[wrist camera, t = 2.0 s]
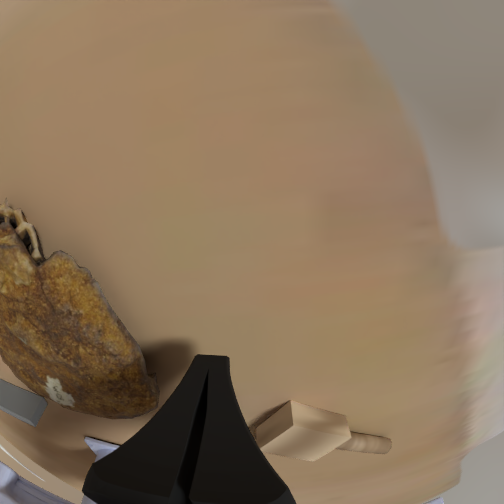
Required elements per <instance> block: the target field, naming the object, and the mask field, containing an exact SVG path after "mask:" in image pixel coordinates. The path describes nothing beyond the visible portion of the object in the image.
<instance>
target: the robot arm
mask: <svg viewBox="0 0 504 504" xmlns="http://www.w3.org/2000/svg"><path fill="white" fill-rule="evenodd" d="M84 440H85V442H86V443H87V444H88V446H89V447H90V448H91V449H92V451H93V452H94V453H95V454H96V455H97V456H96V459H95V462H94V463H93V464H92V466H91V468H90V470H89V471H88V474H87V476H86V479H85V482H84V485H83V488H82V492H83V493H84V496H83V500H82V503H81V504H296V502H295V500H294V498H293V496H292V494H291V492H290V490H289V488H288V486H287V485H286V484H285V483H284V481H283V480H282V479H281V478H280V477H279V475H278V474H277V473H276V472H275V470H274V469H273V468H272V466H271V465H270V463H269V462H268V461H267V459H266V458H265V456H264V454H263V453H262V451H261V450H260V448H259V446H258V445H257V443H256V441H255V440H254V438H253V436H252V434H251V432H250V430H249V428H248V426H247V424H246V422H245V420H244V417H243V415H242V413H241V410H240V407H239V405H238V402H237V399H236V396H235V392H234V389H233V385H232V381H231V376H230V361H229V357H227V356H217V355H200V354H197V355H196V356H195V357H194V359H193V361H192V363H191V365H190V367H189V369H188V371H187V372H186V374H185V376H184V377H183V379H182V380H181V382H180V383H179V385H178V386H177V388H176V389H175V391H174V392H173V393H172V395H171V396H170V397H169V399H168V400H167V401H166V403H165V404H164V405H163V406H162V408H161V409H160V410H159V411H158V412H157V413H156V414H155V416H154V417H153V418H152V419H151V420H150V421H149V422H148V423H147V424H146V425H145V426H144V427H143V428H142V429H140V430H139V431H138V432H137V433H136V434H135V435H134V436H133V437H131V438H130V439H129V440H128V441H126V442H125V443H124V444H122V445H121V446H118V445H114V444H110V443H106V442H103V441H99V440H96V439H92V438H89V437H85V439H84ZM0 504H74V503H71V502H69V501H67V500H65V499H63V498H60V497H58V496H56V495H54V494H52V493H50V492H48V491H46V490H44V489H42V488H40V487H38V486H37V485H35V484H33V483H31V482H29V481H28V480H26V479H24V478H23V477H21V476H19V475H18V474H17V473H16V472H15V471H13V470H12V469H11V468H10V467H8V466H7V465H6V464H4V463H3V462H1V461H0ZM425 504H444V501H443V498H442V497H439V498H436V499H434V500H432V501H429V502H427V503H425Z"/></svg>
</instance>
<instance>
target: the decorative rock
mask: <svg viewBox="0 0 504 504" xmlns="http://www.w3.org/2000/svg"><path fill="white" fill-rule="evenodd" d="M12 225H16V226H17V228H16V229H14V228H13V227H12ZM30 243H31V248H32V252H31V255H30V254H29V252H28V250H27V246H28V245H29V244H30ZM0 355H1V357H2V360H3V362H4V363H5V364H7V365H8V366H9V368H10V369H11V370H12V372H13V373H14V375H15V376H16V377H17V378H18V379H20V380H21V381H22V382H23V383H24V384H25V385H26V386H28V387H29V388H30V389H31V390H32V391H34V392H36V393H37V394H39V395H40V396H43V397H46V398H49V399H51V400H53V401H55V402H57V403H58V404H60V405H61V406H62V407H64V408H67V409H70V410H73V411H77V412H82V413H87V414H92V415H95V416H98V417H105V418H110V419H128V418H134V417H137V416H140V415H143V414H146V413H148V412H150V411H151V410H153V409H155V408H157V407H158V399H159V392H160V391H159V388H158V385H157V379H156V373H153V374H150V375H147V370H146V364H145V359H144V357H143V355H142V352H141V349H140V347H139V345H138V344H137V342H136V341H135V340H134V339H133V337H132V336H131V335H130V333H129V332H128V331H127V329H126V328H125V326H124V325H123V323H122V322H121V321H120V319H119V318H118V317H117V316H116V314H115V313H114V311H113V310H112V308H111V307H110V305H109V304H108V302H107V300H106V298H105V296H104V295H103V292H102V290H101V288H100V286H99V284H98V282H96V281H95V280H94V279H93V278H92V276H91V274H90V271H89V270H88V269H87V268H83V267H79V266H78V265H77V263H76V262H75V260H74V259H73V257H71V256H70V255H68V254H66V253H65V252H63V251H56V252H54V253H53V254H52V255H51V256H50V257H49V258H48V259H47V260H46V259H45V258H44V255H43V252H42V248H41V244H40V242H39V239H38V236H37V235H36V230H35V228H34V226H33V225H32V224H30V223H27V221H26V218H25V216H24V214H23V212H22V210H21V208H20V209H16V210H13V209H11V208H10V207H9V206H8V203H7V198H6V199H5V201H4V203H3V205H0Z"/></svg>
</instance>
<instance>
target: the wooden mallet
mask: <svg viewBox="0 0 504 504" xmlns="http://www.w3.org/2000/svg"><path fill="white" fill-rule="evenodd" d="M256 443H257V445H258V446H259V448H260V450H261V451H262V452H265V453H269V454H274V455H279V456H284V457H289V458H295V459H301V460H307V461H315V460H317V459H318V458H320V457H322V456H324V455H325V454H327V453H329V452H330V451H332V450H333V449H340V450H347V451H356V452H365V453H375V454H386V453H388V452H389V451H390V449H391V447H392V441H391V439H389V438H385V437H378V436H372V435H366V434H360V433H354V432H350V430H349V426H348V422H347V418H346V416H344V415H341V414H337V413H333V412H329V411H326V410H322V409H318V408H315V407H312V406H308V405H305V404H302V403H298V402H295V401H292V400H290V401H289V402H288V403H286V404H285V405H284V406H283V407H282V408H280V409H279V410H278V411H277V412H276V413H274V414H273V415H272V416H271V417H269V418H268V419H267V420H266V421H264V422H263V423H262V424H260V425H259V426H258V427H257V428H256Z"/></svg>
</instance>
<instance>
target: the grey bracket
mask: <svg viewBox="0 0 504 504" xmlns="http://www.w3.org/2000/svg"><path fill="white" fill-rule="evenodd" d="M47 405H48V404H47V402H46V401H45V399H44V398H43V397H41V396H39V395H36V394H34V393H31V392H29V391H26V390H24V389H21V388H19V387H17V386H14V385H12V384H10V383H8V382H6V381H4V380H1V379H0V409H1V410H2V411H4V412H6V413H8V414H10V415H12V416H14V417H16V418H18V419H20V420H22V421H24V422H26V423H28V424H30V425H32V426H34V427H36V425H37V423H38V421H39V419H40V418H41V416H42V414H43V412H44V410H45V408H46V406H47Z"/></svg>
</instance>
